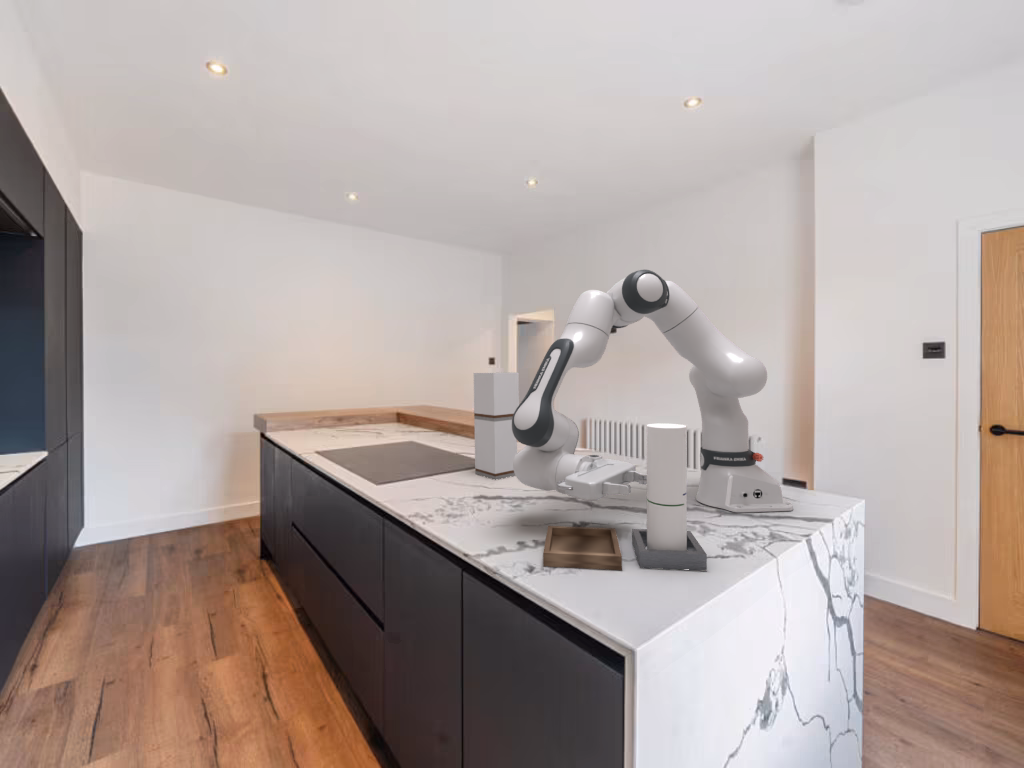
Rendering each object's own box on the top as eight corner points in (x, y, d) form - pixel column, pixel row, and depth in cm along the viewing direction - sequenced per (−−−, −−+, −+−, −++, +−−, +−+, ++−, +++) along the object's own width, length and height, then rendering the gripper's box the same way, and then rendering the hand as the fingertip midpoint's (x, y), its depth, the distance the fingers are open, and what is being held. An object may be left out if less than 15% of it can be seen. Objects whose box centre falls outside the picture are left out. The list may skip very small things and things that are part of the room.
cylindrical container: (692, 555, 85) (692, 425, 84) (678, 568, 79) (677, 429, 78) (656, 545, 89) (656, 422, 88) (640, 557, 84) (639, 426, 83)
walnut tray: (615, 540, 92) (615, 528, 92) (621, 570, 79) (621, 556, 79) (548, 537, 95) (548, 525, 94) (543, 566, 81) (543, 552, 81)
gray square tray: (690, 545, 89) (690, 530, 89) (706, 571, 78) (706, 554, 78) (632, 543, 91) (632, 528, 91) (640, 568, 79) (639, 551, 79)
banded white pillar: (520, 474, 151) (518, 372, 150) (495, 480, 144) (493, 372, 143) (499, 469, 160) (497, 372, 159) (475, 474, 153) (473, 373, 152)
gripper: (551, 470, 88) (616, 480, 79) (599, 453, 104) (657, 460, 95) (551, 501, 88) (616, 514, 79) (599, 480, 104) (657, 489, 95)
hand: (639, 484), depth 87 cm, fingers open, 8 cm apart
